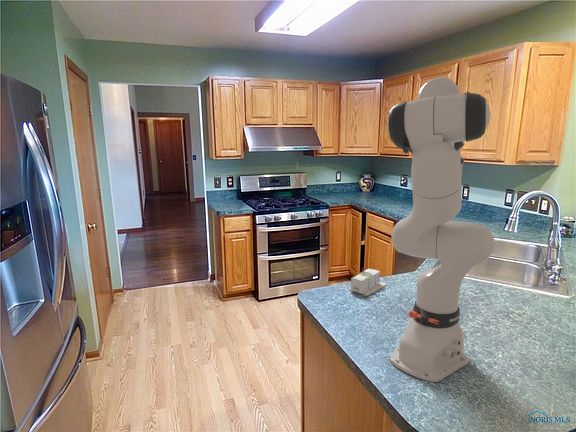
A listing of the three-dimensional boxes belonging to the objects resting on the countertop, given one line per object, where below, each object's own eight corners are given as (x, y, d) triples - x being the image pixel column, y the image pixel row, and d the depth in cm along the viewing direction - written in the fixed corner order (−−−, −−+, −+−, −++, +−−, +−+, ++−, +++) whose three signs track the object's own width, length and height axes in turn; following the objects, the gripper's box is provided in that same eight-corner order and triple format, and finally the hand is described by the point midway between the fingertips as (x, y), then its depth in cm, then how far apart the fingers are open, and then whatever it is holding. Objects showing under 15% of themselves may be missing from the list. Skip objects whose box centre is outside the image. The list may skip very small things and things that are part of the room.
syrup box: (362, 294, 139) (380, 283, 149) (362, 281, 138) (380, 270, 148) (350, 290, 143) (368, 280, 153) (350, 277, 142) (368, 267, 152)
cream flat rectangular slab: (367, 295, 138) (367, 294, 138) (349, 289, 145) (349, 288, 145) (387, 284, 148) (387, 283, 148) (369, 279, 155) (369, 278, 155)
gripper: (442, 162, 115) (440, 203, 118) (466, 159, 129) (464, 195, 132) (424, 162, 120) (423, 201, 123) (449, 159, 133) (447, 194, 136)
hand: (444, 198), depth 127 cm, fingers closed
